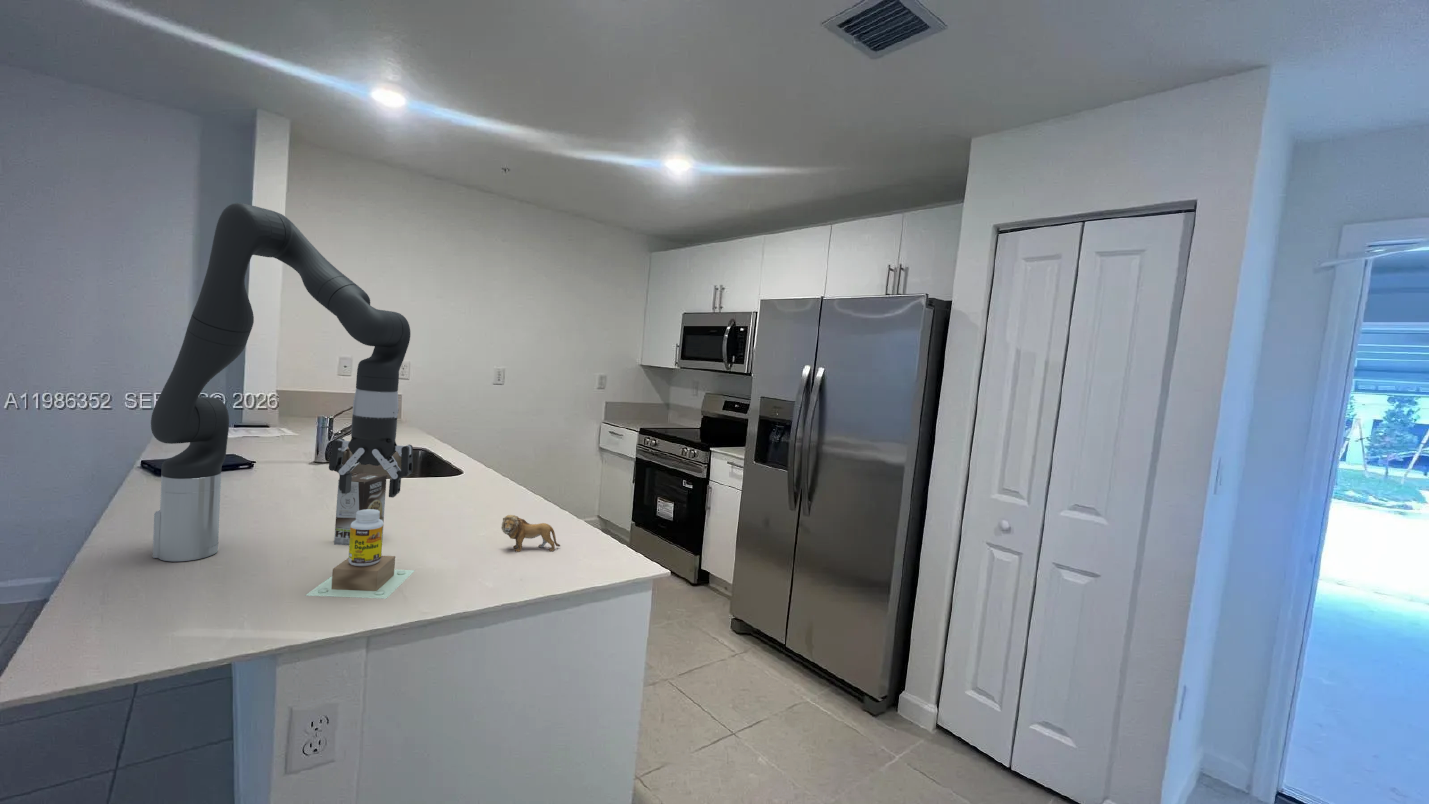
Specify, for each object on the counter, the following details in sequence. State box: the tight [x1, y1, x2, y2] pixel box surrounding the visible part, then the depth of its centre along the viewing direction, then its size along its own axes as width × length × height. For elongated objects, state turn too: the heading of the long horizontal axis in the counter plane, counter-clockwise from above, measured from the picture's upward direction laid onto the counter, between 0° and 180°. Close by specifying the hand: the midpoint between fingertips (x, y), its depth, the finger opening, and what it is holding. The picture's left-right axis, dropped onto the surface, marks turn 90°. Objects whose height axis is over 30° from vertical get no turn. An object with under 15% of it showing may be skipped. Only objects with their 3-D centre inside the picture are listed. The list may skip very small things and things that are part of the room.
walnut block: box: [331, 555, 396, 591], centre depth 112 cm, size 8×8×4 cm
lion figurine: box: [501, 514, 561, 553], centre depth 142 cm, size 15×5×9 cm, turn 116°
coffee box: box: [333, 472, 388, 546], centre depth 135 cm, size 9×6×16 cm
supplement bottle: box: [347, 509, 385, 566], centre depth 111 cm, size 6×6×10 cm
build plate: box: [304, 568, 416, 600], centre depth 112 cm, size 14×14×2 cm
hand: (369, 494), depth 111 cm, fingers open, 8 cm apart
